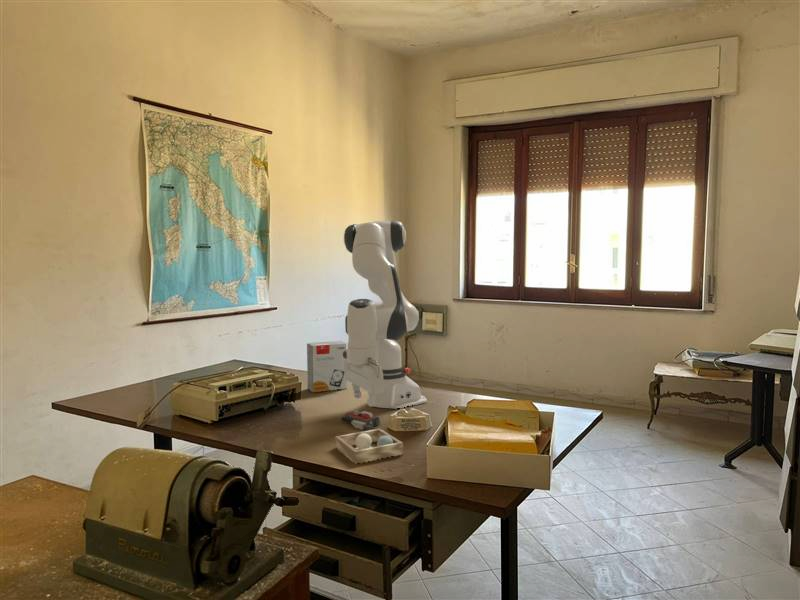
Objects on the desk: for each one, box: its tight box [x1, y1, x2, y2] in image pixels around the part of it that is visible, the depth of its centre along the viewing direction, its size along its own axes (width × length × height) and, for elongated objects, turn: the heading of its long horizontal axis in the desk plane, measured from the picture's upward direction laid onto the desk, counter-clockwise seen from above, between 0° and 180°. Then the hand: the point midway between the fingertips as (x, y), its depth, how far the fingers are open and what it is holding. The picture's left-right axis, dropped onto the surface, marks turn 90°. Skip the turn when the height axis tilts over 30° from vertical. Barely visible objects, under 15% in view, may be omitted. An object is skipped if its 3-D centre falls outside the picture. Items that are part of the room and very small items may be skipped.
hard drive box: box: [306, 340, 348, 393], centre depth 240 cm, size 16×8×20 cm, turn 115°
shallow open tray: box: [334, 428, 404, 465], centre depth 166 cm, size 15×15×4 cm
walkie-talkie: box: [341, 410, 381, 431], centre depth 190 cm, size 9×4×20 cm
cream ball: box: [355, 433, 373, 450], centre depth 167 cm, size 5×5×5 cm
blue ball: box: [376, 436, 393, 447], centre depth 165 cm, size 5×5×5 cm
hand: (364, 401), depth 166 cm, fingers open, 8 cm apart
